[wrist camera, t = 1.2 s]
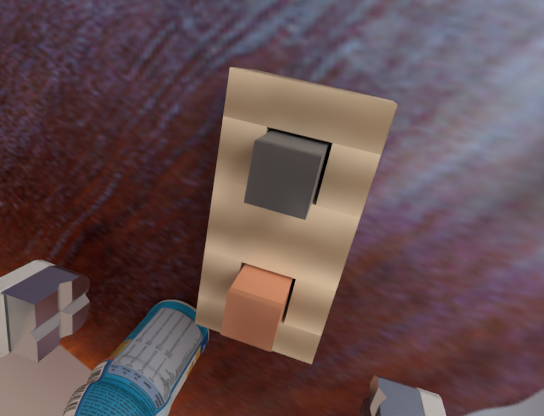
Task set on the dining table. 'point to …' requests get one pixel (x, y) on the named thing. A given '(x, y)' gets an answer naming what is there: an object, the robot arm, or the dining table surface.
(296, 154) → the charcoal plug
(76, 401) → the beverage bottle
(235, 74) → the maple housing
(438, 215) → the dining table surface
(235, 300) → the terracotta plug
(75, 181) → the dining table surface
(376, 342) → the dining table surface
